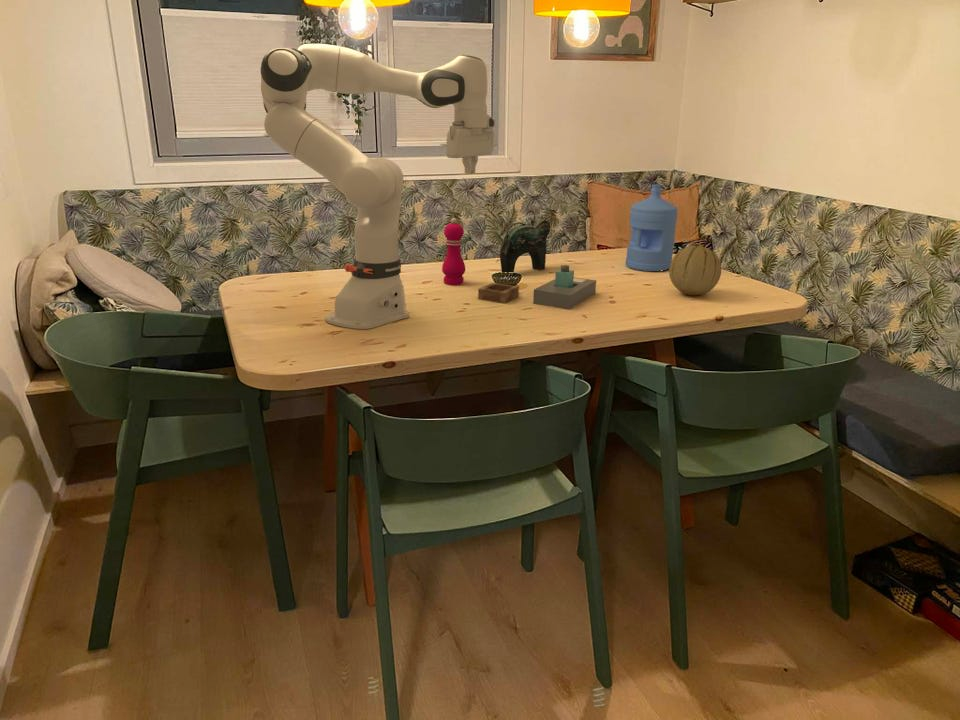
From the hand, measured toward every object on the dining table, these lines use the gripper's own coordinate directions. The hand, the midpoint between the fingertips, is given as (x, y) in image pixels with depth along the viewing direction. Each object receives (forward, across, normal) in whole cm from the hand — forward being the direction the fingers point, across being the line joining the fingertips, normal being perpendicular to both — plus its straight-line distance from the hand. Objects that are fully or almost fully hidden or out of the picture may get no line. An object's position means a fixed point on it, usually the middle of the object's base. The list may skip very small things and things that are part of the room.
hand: (470, 173), depth 191 cm
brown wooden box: (+34, 0, -10) cm, 36 cm away
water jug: (+34, +64, -35) cm, 81 cm away
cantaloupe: (+34, +35, -57) cm, 75 cm away
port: (+34, +10, -26) cm, 44 cm away
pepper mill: (+34, +8, +10) cm, 37 cm away
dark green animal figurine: (+34, +34, -2) cm, 48 cm away
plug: (+34, +10, -26) cm, 44 cm away
